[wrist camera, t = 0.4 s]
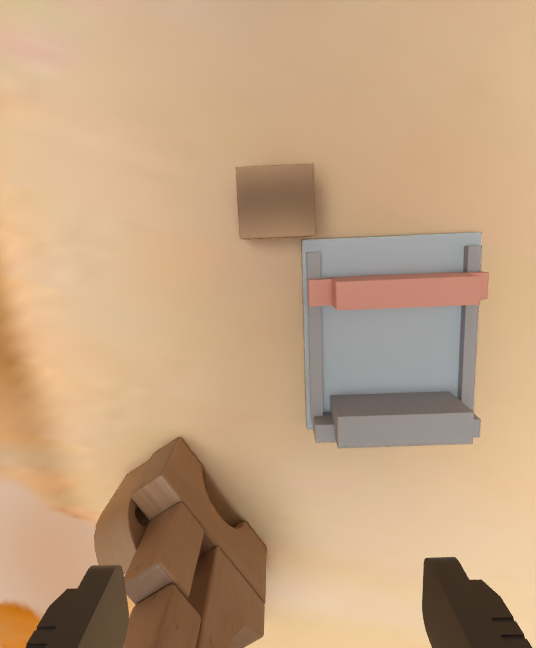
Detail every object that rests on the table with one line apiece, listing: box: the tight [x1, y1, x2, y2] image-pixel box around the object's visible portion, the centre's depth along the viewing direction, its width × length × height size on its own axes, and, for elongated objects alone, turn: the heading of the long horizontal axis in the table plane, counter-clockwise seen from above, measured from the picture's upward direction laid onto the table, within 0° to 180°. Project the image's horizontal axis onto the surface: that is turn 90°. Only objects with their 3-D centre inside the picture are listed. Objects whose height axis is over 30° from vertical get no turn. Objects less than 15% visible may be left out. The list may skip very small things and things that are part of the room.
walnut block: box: [236, 164, 315, 239], centre depth 31 cm, size 4×5×6 cm
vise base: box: [301, 232, 482, 448], centre depth 33 cm, size 16×14×6 cm
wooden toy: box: [94, 438, 267, 648], centre depth 27 cm, size 15×7×25 cm, turn 34°
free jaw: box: [308, 272, 489, 310], centre depth 31 cm, size 2×13×4 cm, turn 92°
